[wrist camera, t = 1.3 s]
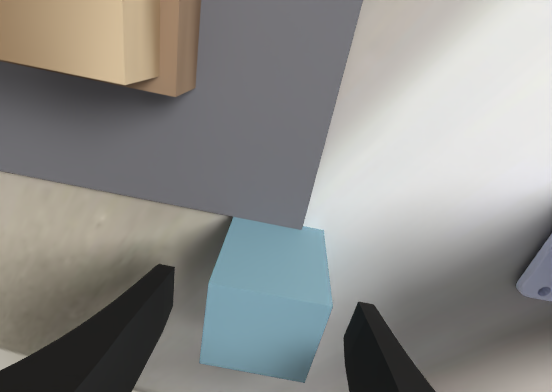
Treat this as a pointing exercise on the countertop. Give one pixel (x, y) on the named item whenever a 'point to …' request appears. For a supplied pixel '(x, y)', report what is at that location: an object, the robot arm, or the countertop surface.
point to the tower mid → (84, 37)
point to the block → (267, 300)
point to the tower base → (170, 50)
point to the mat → (196, 116)
